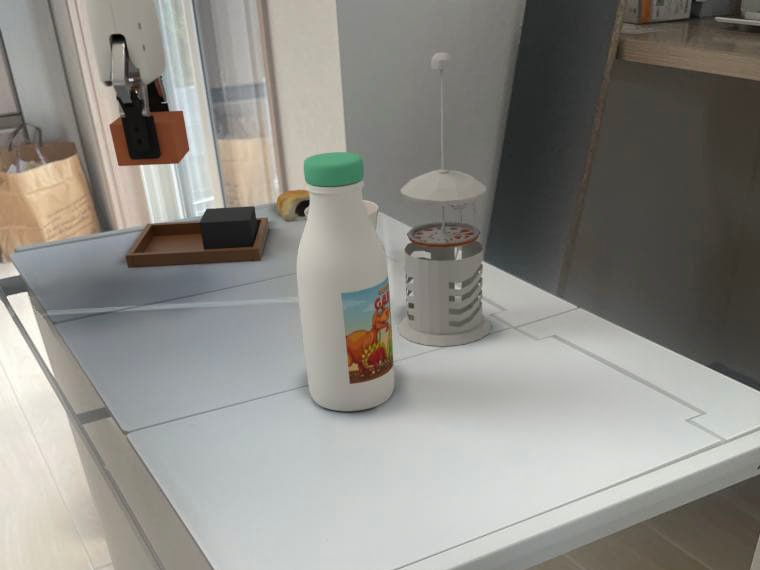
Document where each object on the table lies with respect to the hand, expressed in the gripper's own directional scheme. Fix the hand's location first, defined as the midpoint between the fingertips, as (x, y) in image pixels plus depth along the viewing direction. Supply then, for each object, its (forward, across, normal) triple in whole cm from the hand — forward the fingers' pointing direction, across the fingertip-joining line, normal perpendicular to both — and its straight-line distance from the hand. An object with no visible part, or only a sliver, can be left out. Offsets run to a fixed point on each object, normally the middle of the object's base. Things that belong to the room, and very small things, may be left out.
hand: (152, 149), depth 90 cm
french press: (+16, +14, +31) cm, 37 cm away
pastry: (+16, -29, +12) cm, 35 cm away
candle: (+16, -8, +19) cm, 26 cm away
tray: (+15, -14, 0) cm, 21 cm away
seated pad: (+15, -14, +4) cm, 21 cm away
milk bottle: (+16, +29, +21) cm, 39 cm away
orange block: (+1, 0, 0) cm, 1 cm away
